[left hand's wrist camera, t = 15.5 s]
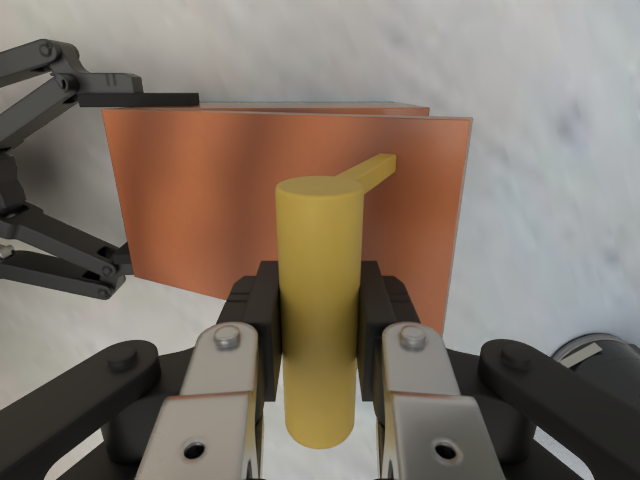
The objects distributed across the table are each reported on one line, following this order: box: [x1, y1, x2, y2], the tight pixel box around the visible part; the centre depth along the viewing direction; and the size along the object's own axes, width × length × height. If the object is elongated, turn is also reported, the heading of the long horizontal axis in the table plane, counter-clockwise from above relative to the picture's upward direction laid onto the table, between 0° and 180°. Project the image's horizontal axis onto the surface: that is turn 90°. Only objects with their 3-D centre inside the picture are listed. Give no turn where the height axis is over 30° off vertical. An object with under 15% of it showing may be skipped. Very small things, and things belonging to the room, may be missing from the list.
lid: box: [102, 108, 473, 449], centre depth 16 cm, size 18×10×9 cm, turn 90°
